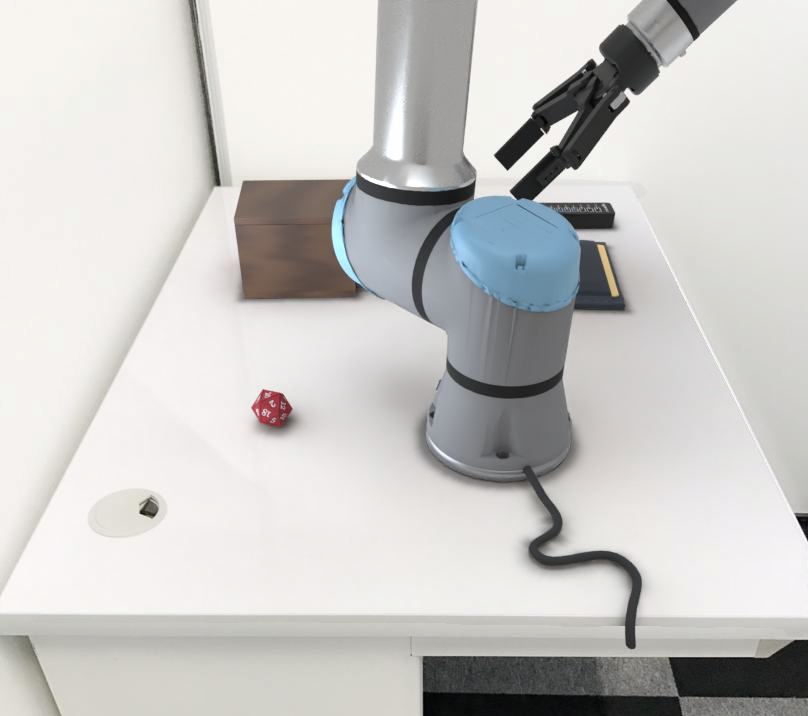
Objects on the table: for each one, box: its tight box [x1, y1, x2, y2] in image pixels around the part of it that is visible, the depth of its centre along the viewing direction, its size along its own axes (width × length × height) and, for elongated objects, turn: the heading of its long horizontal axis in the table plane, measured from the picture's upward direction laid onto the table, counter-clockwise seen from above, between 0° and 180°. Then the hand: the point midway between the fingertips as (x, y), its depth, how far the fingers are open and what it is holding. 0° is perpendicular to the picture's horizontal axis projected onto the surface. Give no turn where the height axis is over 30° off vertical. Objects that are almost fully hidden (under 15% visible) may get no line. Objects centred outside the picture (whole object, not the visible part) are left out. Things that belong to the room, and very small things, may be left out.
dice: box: [250, 388, 293, 428], centre depth 90 cm, size 4×4×4 cm
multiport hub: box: [539, 202, 616, 229], centre depth 131 cm, size 4×14×2 cm, turn 92°
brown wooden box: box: [233, 178, 357, 300], centre depth 114 cm, size 15×13×11 cm
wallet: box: [574, 239, 626, 311], centre depth 118 cm, size 20×2×15 cm
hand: (508, 180), depth 110 cm, fingers open, 13 cm apart
